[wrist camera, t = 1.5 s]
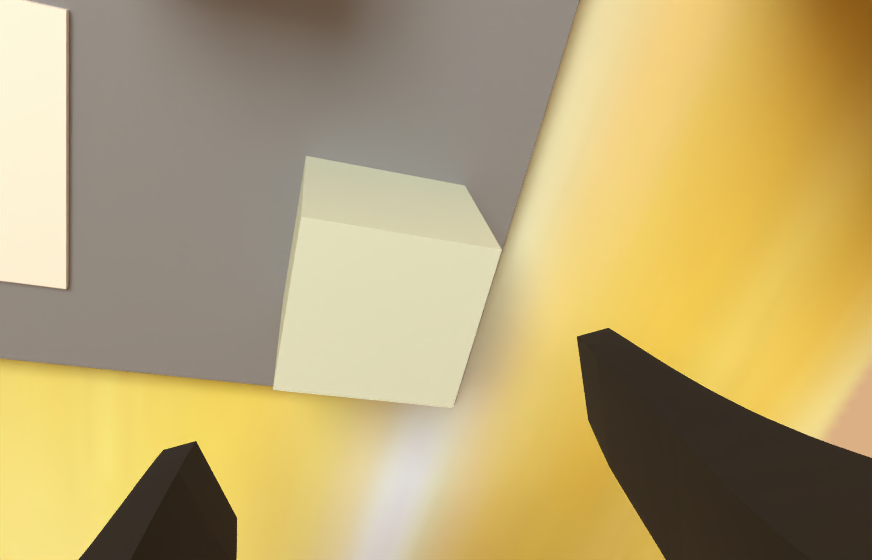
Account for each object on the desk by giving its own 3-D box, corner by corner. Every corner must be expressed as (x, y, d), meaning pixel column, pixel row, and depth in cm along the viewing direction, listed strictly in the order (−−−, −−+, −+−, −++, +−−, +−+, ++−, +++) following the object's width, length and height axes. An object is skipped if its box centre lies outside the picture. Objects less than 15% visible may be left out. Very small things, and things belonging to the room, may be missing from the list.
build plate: (642, -254, 16) (665, -268, 15) (449, 387, 24) (455, 408, 23) (-420, -661, 11) (-499, -725, 10) (-215, 315, 19) (-247, 337, 18)
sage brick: (464, 185, 19) (502, 249, 15) (428, 319, 21) (452, 408, 17) (306, 155, 18) (301, 216, 14) (282, 300, 20) (272, 389, 16)
